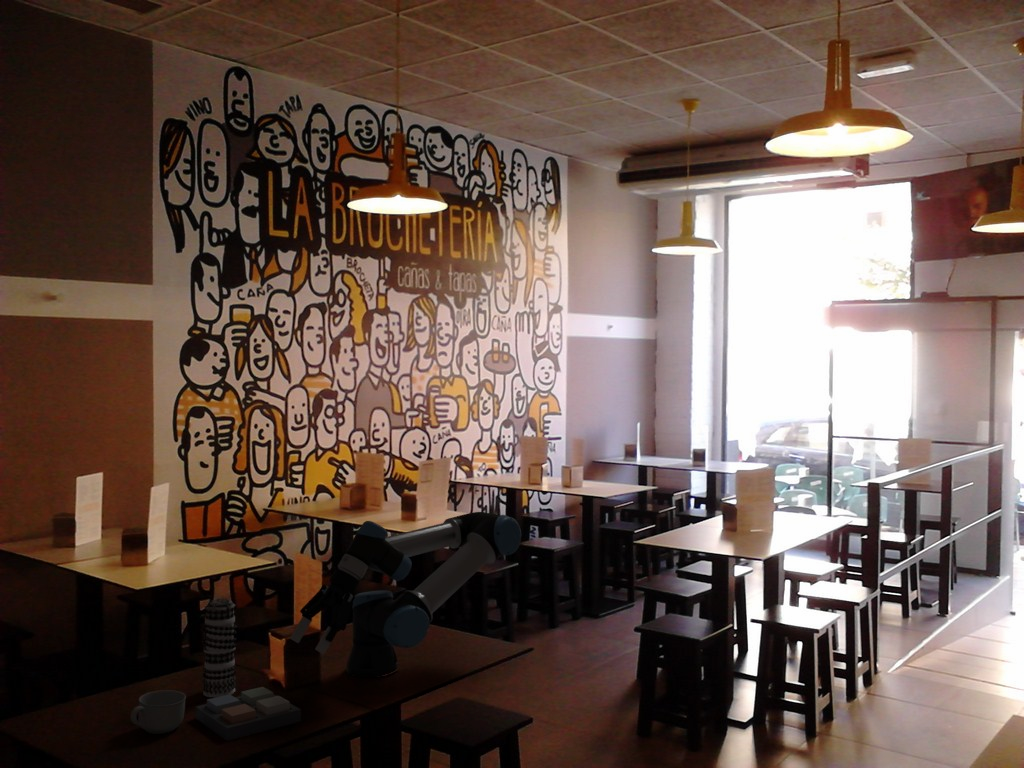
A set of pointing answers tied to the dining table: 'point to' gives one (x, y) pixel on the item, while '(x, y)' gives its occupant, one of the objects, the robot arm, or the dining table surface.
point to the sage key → (255, 695)
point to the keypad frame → (248, 726)
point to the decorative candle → (219, 648)
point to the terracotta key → (238, 714)
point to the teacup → (160, 711)
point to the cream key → (272, 705)
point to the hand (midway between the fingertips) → (306, 646)
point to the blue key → (221, 703)
